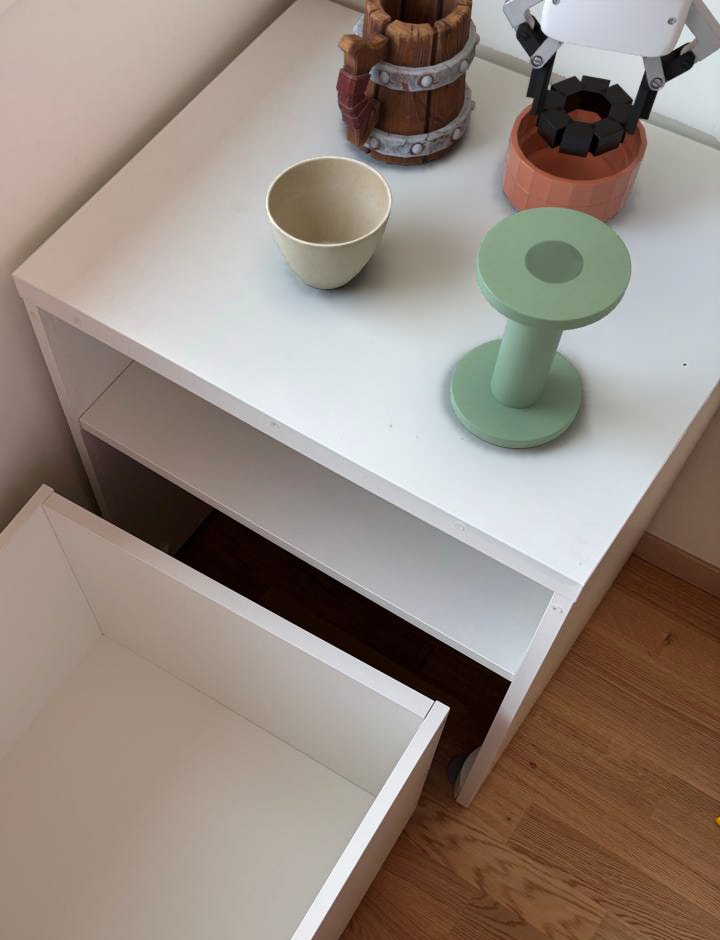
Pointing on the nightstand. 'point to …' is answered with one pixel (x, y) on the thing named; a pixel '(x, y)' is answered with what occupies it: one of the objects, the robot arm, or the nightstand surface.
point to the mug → (408, 78)
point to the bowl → (569, 170)
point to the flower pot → (328, 217)
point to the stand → (536, 322)
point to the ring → (588, 97)
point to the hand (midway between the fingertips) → (585, 112)
